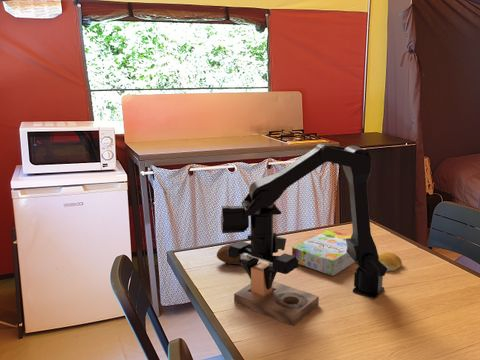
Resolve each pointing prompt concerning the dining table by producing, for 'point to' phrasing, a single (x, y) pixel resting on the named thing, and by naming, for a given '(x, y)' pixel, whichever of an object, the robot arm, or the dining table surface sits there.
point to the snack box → (324, 252)
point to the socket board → (279, 302)
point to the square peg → (259, 280)
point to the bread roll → (390, 260)
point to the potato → (223, 255)
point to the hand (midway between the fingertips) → (261, 286)
